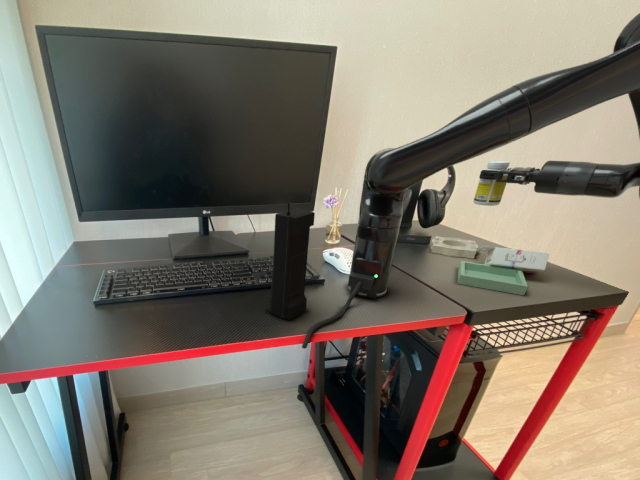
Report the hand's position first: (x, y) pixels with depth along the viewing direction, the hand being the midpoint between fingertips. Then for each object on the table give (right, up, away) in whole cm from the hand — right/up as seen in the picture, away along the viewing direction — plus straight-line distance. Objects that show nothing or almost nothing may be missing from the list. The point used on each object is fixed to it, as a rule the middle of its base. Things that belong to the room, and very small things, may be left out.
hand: (485, 173), depth 89 cm
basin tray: (-1, -30, -2) cm, 30 cm away
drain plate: (+4, -18, +20) cm, 28 cm away
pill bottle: (+2, -8, +2) cm, 9 cm away
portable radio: (-57, -38, -14) cm, 70 cm away
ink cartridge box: (+14, -25, -2) cm, 29 cm away
